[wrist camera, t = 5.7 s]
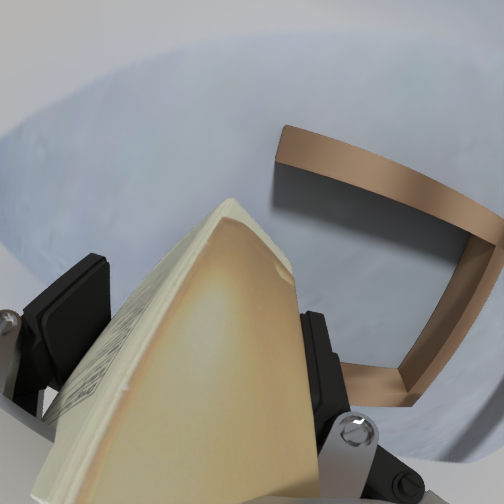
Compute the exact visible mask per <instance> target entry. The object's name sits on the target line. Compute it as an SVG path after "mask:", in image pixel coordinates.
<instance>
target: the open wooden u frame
mask: <svg viewBox="0 0 504 504" xmlns="http://www.w3.org/2000/svg"><path fill="white" fill-rule="evenodd" d="M275 159H276V162H279V163H283V164H287V165H290V166H294V167H297V168H301V169H304V170H308V171H311V172H314V173H318V174H321V175H324V176H327V177H331V178H334V179H337V180H340V181H343V182H346V183H349V184H352V185H355V186H358V187H361V188H364V189H366V190H369V191H372V192H375V193H378V194H380V195H383V196H386V197H388V198H391V199H394V200H396V201H399V202H401V203H404V204H406V205H409V206H411V207H414V208H416V209H419V210H421V211H424V212H426V213H428V214H431V215H433V216H435V217H438V218H440V219H442V220H444V221H447V222H449V223H451V224H453V225H455V226H458V227H460V228H462V229H464V230H466V231H468V232H470V233H471V235H470V237H469V240H468V242H467V245H466V247H465V250H464V252H463V254H462V257H461V259H460V261H459V263H458V266H457V268H456V270H455V272H454V274H453V276H452V278H451V280H450V282H449V284H448V286H447V288H446V290H445V292H444V294H443V296H442V298H441V300H440V302H439V304H438V305H437V307H436V309H435V311H434V313H433V314H432V316H431V318H430V320H429V321H428V323H427V325H426V326H425V328H424V330H423V331H422V333H421V335H420V336H419V338H418V339H417V341H416V342H415V344H414V346H413V347H412V349H411V350H410V352H409V353H408V355H407V356H406V358H405V359H404V361H403V362H402V363H401V365H400V366H399V368H398V369H393V368H383V367H374V366H366V365H358V364H350V363H343V362H340V364H341V369H342V373H343V377H344V382H345V386H346V391H347V395H348V400H349V405H356V406H376V407H412V406H413V405H414V404H415V402H416V401H417V400H418V399H419V398H420V397H421V396H422V394H423V393H424V392H425V391H426V390H427V388H428V387H429V386H430V385H431V383H432V382H433V381H434V380H435V378H436V377H437V376H438V374H439V373H440V372H441V371H442V369H443V368H444V367H445V365H446V364H447V362H448V361H449V360H450V358H451V357H452V355H453V354H454V353H455V351H456V350H457V348H458V347H459V345H460V344H461V342H462V341H463V339H464V338H465V336H466V334H467V333H468V331H469V330H470V328H471V326H472V325H473V323H474V321H475V320H476V318H477V316H478V315H479V313H480V311H481V309H482V308H483V306H484V304H485V302H486V300H487V298H488V296H489V295H490V293H491V291H492V289H493V287H494V285H495V283H496V281H497V279H498V276H499V274H500V272H501V270H502V268H503V265H504V219H503V218H501V217H500V216H498V215H497V214H495V213H493V212H492V211H490V210H489V209H487V208H485V207H484V206H482V205H480V204H478V203H477V202H475V201H473V200H471V199H470V198H468V197H466V196H464V195H462V194H461V193H459V192H457V191H455V190H453V189H451V188H449V187H447V186H445V185H443V184H441V183H439V182H437V181H435V180H433V179H431V178H429V177H427V176H425V175H423V174H421V173H419V172H417V171H414V170H412V169H410V168H408V167H405V166H403V165H401V164H398V163H396V162H394V161H391V160H389V159H387V158H384V157H382V156H379V155H377V154H374V153H371V152H369V151H366V150H364V149H361V148H358V147H355V146H353V145H350V144H347V143H344V142H341V141H338V140H335V139H332V138H329V137H326V136H323V135H320V134H317V133H314V132H310V131H307V130H304V129H300V128H297V127H293V126H289V125H285V126H284V127H283V130H282V134H281V138H280V141H279V145H278V149H277V153H276V156H275Z"/></svg>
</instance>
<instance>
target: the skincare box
mask: <svg viewBox="0 0 504 504" xmlns="http://www.w3.org/2000/svg"><path fill="white" fill-rule="evenodd" d="M41 421H42V422H44V423H45V424H47V425H49V426H50V427H52V428H54V429H56V435H55V442H54V445H53V447H52V449H51V451H50V453H49V455H48V457H47V459H46V461H45V463H44V465H43V467H42V469H41V471H40V473H39V475H38V477H37V479H36V481H35V484H34V486H33V489H32V491H31V497H32V498H34V499H35V500H37V501H38V502H39V503H40V504H238V503H242V502H245V501H248V500H252V499H256V498H259V497H263V496H266V495H267V496H278V497H293V498H321V493H320V481H319V470H318V458H317V447H316V438H315V429H314V418H313V411H312V403H311V396H310V388H309V380H308V372H307V363H306V356H305V348H304V340H303V334H302V327H301V321H300V314H299V309H298V302H297V296H296V289H295V282H294V276H293V271H292V265H291V263H290V261H289V260H288V259H287V258H286V256H285V255H284V254H283V253H282V252H281V250H280V249H279V248H278V247H277V246H276V244H275V243H274V242H273V241H272V240H271V239H270V237H269V236H268V235H267V234H266V233H265V232H264V231H263V229H262V228H261V227H260V226H259V225H258V224H257V223H256V222H255V220H254V219H253V218H252V217H251V216H250V215H249V214H248V213H247V212H246V211H245V209H244V208H243V207H242V206H241V205H240V204H239V203H238V202H237V201H236V200H235V199H233V198H228V199H226V200H225V201H224V202H222V203H221V204H220V205H219V206H218V207H217V208H215V209H214V210H213V211H212V212H211V213H210V214H208V215H207V216H206V217H205V218H204V219H203V220H202V221H201V222H199V223H198V224H197V225H196V226H195V227H194V228H193V229H192V230H191V231H190V232H189V233H188V234H187V235H185V236H184V237H183V238H182V239H181V240H180V241H179V242H178V243H177V244H176V245H175V246H174V247H173V248H172V249H171V250H170V251H169V252H168V253H167V254H166V255H165V256H164V257H163V258H162V259H161V260H160V262H159V263H158V264H157V265H156V266H155V267H154V268H153V269H152V270H151V271H150V273H149V274H148V275H147V276H146V277H145V278H144V280H143V281H142V282H141V283H140V285H139V286H138V287H137V288H136V289H135V291H134V292H133V293H132V294H131V296H130V297H129V298H128V299H127V301H126V302H125V303H124V305H123V306H122V307H121V308H120V310H119V311H118V312H117V313H116V315H115V316H114V317H113V319H112V320H111V321H110V322H109V324H108V325H107V326H106V328H105V329H104V330H103V331H102V333H101V334H100V336H99V337H98V338H97V340H96V341H95V342H94V344H93V345H92V346H91V348H90V349H89V350H88V352H87V353H86V354H85V356H84V357H83V359H82V360H81V361H80V363H79V364H78V365H77V367H76V368H75V370H74V371H73V372H72V374H71V375H70V377H69V378H68V380H67V381H66V382H65V384H64V385H63V387H62V388H61V390H60V391H59V393H58V394H57V396H56V397H55V399H54V400H53V402H52V403H51V405H50V406H49V408H48V409H47V411H46V413H45V414H44V416H43V417H42V419H41Z"/></svg>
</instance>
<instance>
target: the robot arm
mask: <svg viewBox="0 0 504 504" xmlns="http://www.w3.org/2000/svg"><path fill="white" fill-rule="evenodd" d="M23 311H24V314H23V315H22V316H21V317H20V316H19V314H18V313H16V312H15V311H13V310H0V504H40V503H39V502H38V501H37V500H35V499H34V498H32V497H31V491H32V489H33V486H34V484H35V481H36V479H37V477H38V475H39V473H40V471H41V469H42V467H43V465H44V463H45V461H46V459H47V457H48V455H49V453H50V451H51V449H52V447H53V445H54V442H55V435H56V429H54V428H52V427H50V426H49V425H47V424H45V423H44V422H42V421H41V419H42V412H43V400H44V389H46V388H47V386H49V387H51V388H53V389H54V390H56V391H58V392H59V391H60V390H61V388H62V387H63V385H64V384H65V382H66V381H67V380H68V378H69V377H70V375H71V374H72V372H73V371H74V370H75V368H76V367H77V365H78V364H79V363H80V361H81V360H82V359H83V357H84V356H85V354H86V353H87V352H88V350H89V349H90V348H91V346H92V345H93V344H94V342H95V341H96V340H97V338H98V337H99V336H100V334H101V333H102V331H103V330H104V329H105V328H106V326H107V325H108V324H109V322H110V321H111V306H110V264H109V262H107V260H106V258H105V257H104V256H101V255H97V254H94V253H90V254H89V255H87V256H86V257H85V258H84V259H82V260H81V261H80V262H78V263H77V264H76V265H75V266H73V267H72V268H71V269H70V270H68V271H67V272H66V273H65V274H63V275H62V276H61V277H60V278H59V279H57V280H56V281H55V282H54V283H53V284H51V285H50V286H49V287H48V288H47V289H45V290H44V291H43V292H42V293H41V294H40V295H39V296H37V297H36V298H35V299H34V300H33V301H32V302H31V303H30V304H28V305H27V306H26V307H25V308H24V309H23ZM300 321H301V327H302V334H303V340H304V348H305V356H306V363H307V372H308V380H309V388H310V396H311V403H312V411H313V418H314V429H315V438H316V447H317V458H318V470H319V481H320V493H321V498H293V497H278V496H267V495H266V496H263V497H259V498H256V499H252V500H248V501H245V502H242V503H238V504H449V503H447V502H446V501H444V500H443V499H442V498H440V497H439V496H438V495H436V494H435V493H434V492H432V491H431V490H428V491H427V492H426V491H425V485H424V481H423V479H422V478H421V476H420V475H419V474H418V473H417V472H415V471H414V470H413V469H411V468H410V467H408V466H407V465H406V464H404V463H403V462H401V461H400V460H399V459H397V458H396V457H394V456H393V455H392V454H390V453H389V452H388V451H386V450H385V449H384V448H382V447H381V446H380V445H378V441H379V431H378V428H377V426H376V425H375V423H374V422H373V421H372V420H371V419H370V418H369V417H367V416H366V415H364V414H362V413H358V412H351V410H350V405H349V400H348V395H347V391H346V386H345V382H344V377H343V373H342V369H341V364H340V360H339V357H338V354H336V353H333V352H332V348H331V343H330V339H329V335H328V330H327V326H326V322H325V318H324V315H323V314H321V313H317V312H312V311H307V312H306V313H305V314H302V313H301V314H300Z"/></svg>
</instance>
